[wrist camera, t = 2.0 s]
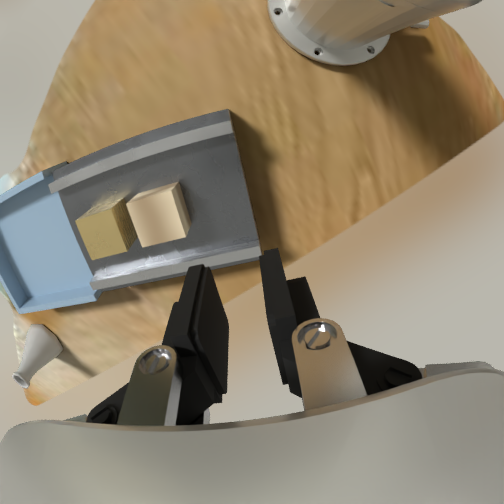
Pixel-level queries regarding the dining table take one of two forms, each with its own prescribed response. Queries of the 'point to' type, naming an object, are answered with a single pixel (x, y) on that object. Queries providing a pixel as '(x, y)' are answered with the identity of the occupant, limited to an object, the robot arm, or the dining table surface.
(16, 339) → the dining table surface
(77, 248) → the tray
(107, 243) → the olive yellow block
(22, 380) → the flask
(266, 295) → the robot arm
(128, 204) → the beige square block
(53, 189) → the slot block
